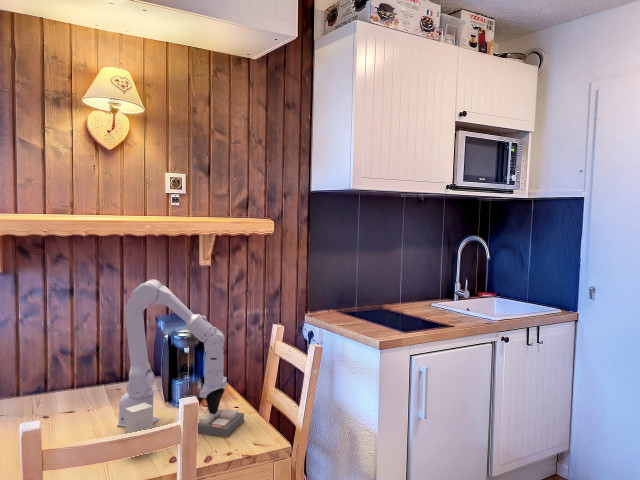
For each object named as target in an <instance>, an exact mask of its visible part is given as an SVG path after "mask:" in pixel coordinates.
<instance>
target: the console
mask: <svg viewBox="0 0 640 480" xmlns="http://www.w3.org/2000/svg"><path fill="white" fill-rule="evenodd" d="M224 410H225V409H224ZM224 410H223V409H218V411H222V412H223V411H224ZM208 411H209V409H208V408H207V409H205V410H204V411H203V412H202V413H206V412H208ZM218 418H220V415H219V416H218V417H214V420H213V421H212V422H211V423H209V424H201V423H198V433H197V434H200V435H206V436H207V435H208V436H212V437H213V436H214V437H221V438H228V437H229V436H230V435H231V434H232V433H233V432H234V431H235V430H236V429H237V428H238V427H240V425H241V424H242V423H243V422H244V421H245V420H244V419H245V413H244V412H239V411H238V415H237V416H236V417H235V418H234V419H233V420H230V419H227V420H230V423H229V424H227V425H226V426H225V427H222V426H217V425H212V423H213V422H214V421H215V420H217V419H218ZM220 419H223V418H220Z"/></svg>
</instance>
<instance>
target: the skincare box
mask: <svg viewBox="0 0 640 480" xmlns="http://www.w3.org/2000/svg"><path fill="white" fill-rule="evenodd" d="M153 417H154V405H153V406H151V405H149V404H147V403H145V402H144V403H141V404H138V405H135V406H132V407H128V408H125V427H124V435H125V434H127V433H132V432H137V431H141V430H147V429H152V428H153V429H154V423H153Z"/></svg>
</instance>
